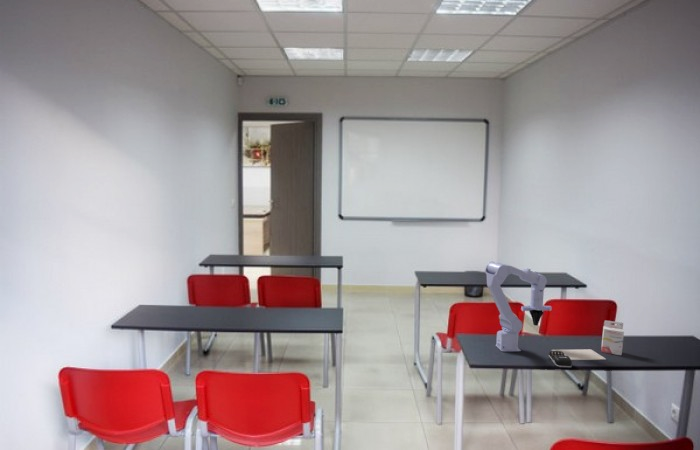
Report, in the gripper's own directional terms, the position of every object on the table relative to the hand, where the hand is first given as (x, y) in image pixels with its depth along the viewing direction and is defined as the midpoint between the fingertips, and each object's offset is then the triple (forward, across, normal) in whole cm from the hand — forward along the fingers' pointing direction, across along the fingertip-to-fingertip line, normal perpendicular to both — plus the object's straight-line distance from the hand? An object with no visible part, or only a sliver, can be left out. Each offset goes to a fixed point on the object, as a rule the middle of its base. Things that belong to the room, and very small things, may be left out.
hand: (535, 324), depth 237 cm
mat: (+11, +15, -13) cm, 23 cm away
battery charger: (+8, +2, -16) cm, 18 cm away
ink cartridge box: (+11, +34, -10) cm, 37 cm away
